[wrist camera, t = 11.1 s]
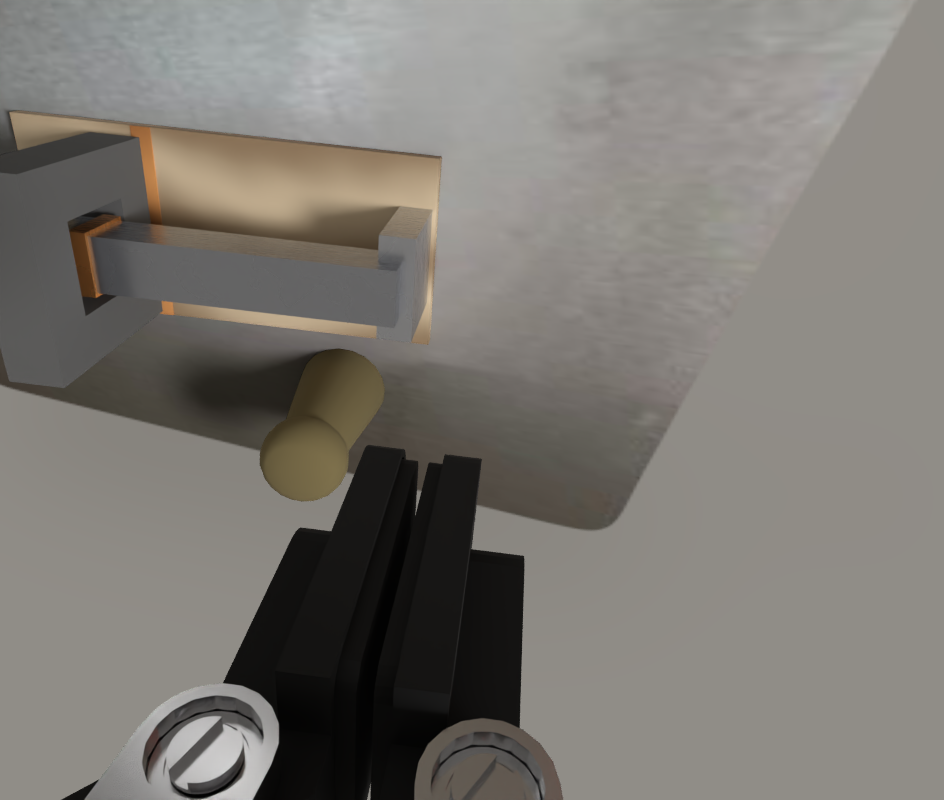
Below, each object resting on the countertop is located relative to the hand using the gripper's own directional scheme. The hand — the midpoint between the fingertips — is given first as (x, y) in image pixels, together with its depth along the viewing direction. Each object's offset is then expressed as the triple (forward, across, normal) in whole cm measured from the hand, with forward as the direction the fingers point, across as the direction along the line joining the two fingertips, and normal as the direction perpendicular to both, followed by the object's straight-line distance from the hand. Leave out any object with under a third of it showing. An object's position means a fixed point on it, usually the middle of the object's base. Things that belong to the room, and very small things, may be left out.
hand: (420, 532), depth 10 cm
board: (+35, +17, +7) cm, 40 cm away
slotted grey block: (+34, +23, +7) cm, 41 cm away
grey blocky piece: (+35, +17, +7) cm, 40 cm away
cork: (+35, +10, +18) cm, 41 cm away
